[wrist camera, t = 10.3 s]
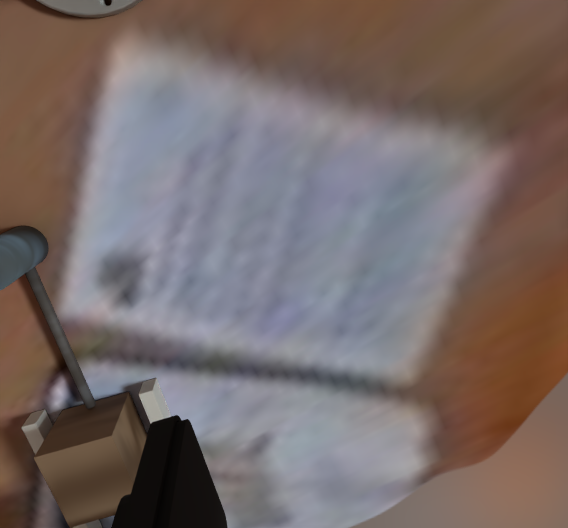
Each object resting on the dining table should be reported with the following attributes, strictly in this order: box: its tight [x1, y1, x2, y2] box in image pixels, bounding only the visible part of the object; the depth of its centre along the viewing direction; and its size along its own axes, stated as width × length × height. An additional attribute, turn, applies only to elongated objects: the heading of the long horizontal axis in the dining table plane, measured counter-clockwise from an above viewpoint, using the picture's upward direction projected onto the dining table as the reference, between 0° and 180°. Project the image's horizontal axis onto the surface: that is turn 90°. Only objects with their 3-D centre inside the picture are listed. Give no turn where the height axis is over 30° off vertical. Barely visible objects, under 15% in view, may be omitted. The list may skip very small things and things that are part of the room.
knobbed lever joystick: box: [0, 226, 147, 528], centre depth 36 cm, size 23×6×6 cm, turn 14°
